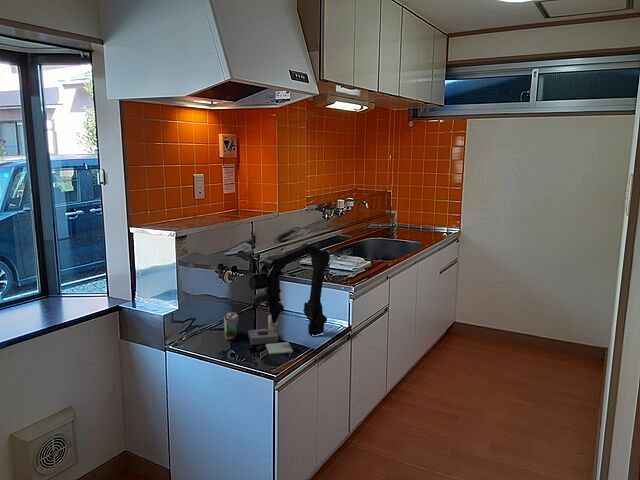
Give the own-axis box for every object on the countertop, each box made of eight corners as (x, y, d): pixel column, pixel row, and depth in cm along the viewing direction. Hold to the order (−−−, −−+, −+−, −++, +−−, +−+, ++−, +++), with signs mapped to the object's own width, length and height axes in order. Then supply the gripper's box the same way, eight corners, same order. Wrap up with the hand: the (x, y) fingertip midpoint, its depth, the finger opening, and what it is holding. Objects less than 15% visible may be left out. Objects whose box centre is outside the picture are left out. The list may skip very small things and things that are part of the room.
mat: (288, 343, 218) (288, 342, 218) (293, 352, 209) (293, 351, 209) (265, 345, 216) (265, 344, 215) (269, 354, 206) (269, 353, 206)
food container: (240, 340, 220) (240, 319, 219) (226, 342, 219) (226, 320, 217) (237, 331, 232) (236, 310, 230) (223, 332, 230) (223, 311, 228)
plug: (276, 329, 217) (276, 314, 216) (278, 332, 213) (278, 317, 212) (267, 330, 216) (267, 314, 215) (269, 333, 212) (269, 317, 211)
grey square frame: (274, 334, 228) (274, 328, 228) (278, 342, 219) (278, 336, 218) (248, 336, 225) (248, 330, 225) (251, 344, 216) (251, 338, 215)
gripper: (251, 281, 218) (252, 315, 221) (256, 293, 200) (257, 330, 203) (276, 280, 220) (276, 314, 223) (284, 292, 203) (284, 328, 205)
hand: (273, 321), depth 214 cm, fingers closed on plug, 4 cm apart
